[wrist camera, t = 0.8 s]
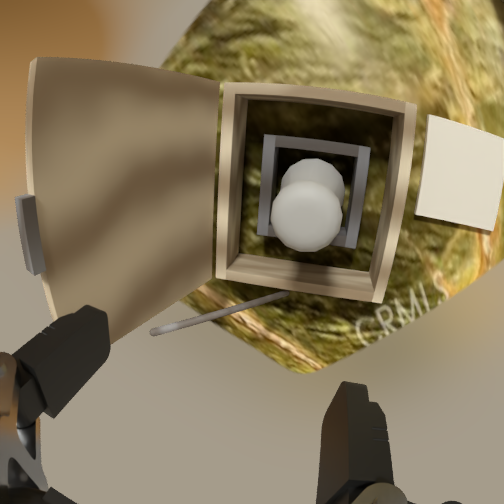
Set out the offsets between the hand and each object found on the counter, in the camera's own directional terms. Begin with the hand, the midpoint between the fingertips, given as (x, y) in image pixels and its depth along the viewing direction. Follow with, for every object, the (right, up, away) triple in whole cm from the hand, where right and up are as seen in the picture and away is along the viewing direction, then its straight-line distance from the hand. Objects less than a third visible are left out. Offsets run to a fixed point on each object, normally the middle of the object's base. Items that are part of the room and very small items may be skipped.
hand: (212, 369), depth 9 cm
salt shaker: (+7, +10, +20) cm, 23 cm away
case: (+6, +10, +20) cm, 23 cm away
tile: (+23, +11, +15) cm, 30 cm away
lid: (-6, +7, +10) cm, 13 cm away
